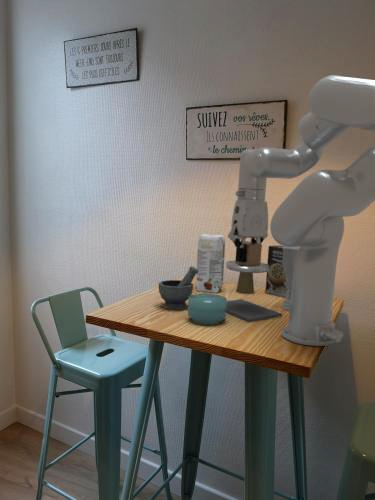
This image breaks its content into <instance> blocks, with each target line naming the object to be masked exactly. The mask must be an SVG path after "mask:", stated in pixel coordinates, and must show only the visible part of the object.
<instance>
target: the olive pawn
mask: <svg viewBox="0 0 375 500" xmlns="http://www.w3.org/2000/svg"><path fill="white" fill-rule="evenodd" d="M254 287H255V285H254V273H245V272H239V275H238V280H237V285H236V293H238V294H242V295H253V294H255V288H254ZM252 293H253V294H252Z"/></svg>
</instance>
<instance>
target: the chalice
mask: <svg viewBox="0 0 375 500" xmlns="http://www.w3.org/2000/svg"><path fill="white" fill-rule="evenodd" d="M299 248H300V247H287V246H284V247H282V249H283V263H282V264H283V268H284V271H285V274H286V276H287V278H289V279H290V283H289V285H288V286H289V291H288V293H289V296H288V298H285V299H284V300H283V302H282V304H281V306H280V308H281V309H283V310H284V309H285V310H288V311H290V304H291V291H292V278H293V266H294V260H295V257H296V254H297V252H298V250H299Z"/></svg>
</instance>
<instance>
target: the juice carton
mask: <svg viewBox="0 0 375 500" xmlns="http://www.w3.org/2000/svg"><path fill="white" fill-rule="evenodd" d="M225 253H226V240H225V235H224V234H209V233H202V234H199V237H198V242H197V253H196V255H197V256H196V269H197V270H198V273H197V274H196V275H195V278H196V279H195V280H196V281H195V284H196V288H197V289H196V290H197V292H204V293H211V294H213V293H214V294H217V293H218V292H220V291H221V290H222V287H223V284H224V274H225V257H226V256H225V255H226V254H225Z"/></svg>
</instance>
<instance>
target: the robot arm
mask: <svg viewBox="0 0 375 500" xmlns="http://www.w3.org/2000/svg"><path fill="white" fill-rule="evenodd" d="M307 106H308V110H309V112H308V113H307V114H305V115H304V116H302V117H301V119H300V120H299V122H298V127H297V128H298V133H299V137H300V139H301V140H302V143H300V144H299V145H297V146H296V147H295V148H292V149H287V148H286V149H285V148H279V147H278V148H277V147H275V148H274V147H260V148H257V149H244V150H243V151H241V152H240V157H239V169H238V170H239V173H238V186H237V188H238V189H237V191H235V196H236V197H237V199H235V203H234V207H233V212H232V218H231V229H230V232H229V233H228V235H227V238H228V239H229V240H230V241H232V243H233V244H234V247H235V259H236V261H238V262H242V263H244V262H245V251H246V248H244V246H245V241H246V240H247V239H249V238H250V242H253V243H257V244H262V243H263V241H264V240H265V239H267V238H268V237H269V234H268V230H269V209H268V208H269V207H268V202H267V201H266V192H267V191H266V189H267V178H268V179H287V180H290V179H296V178H297V177H300V176H301V175H303V174H305V173H306V172H308V171H310V170H311V169H312V168H315V166H316V165H317V164H318V163H319V162H320V160H321V158H322V156H323V154H324V152H325V149H326V147H327V146H329V145H330V144H331V143H333V142H334V141H336V140H337V139H339V138H340V137H342V136H343V135H345V134H346V133H347V132H349V131H350V130H352V129H354V128H355V129H358V130H359V129H360V130H363V131H368V132H375V79H368V78H358V77H350V76H343V75H339V74H338V75H337V74H330V75H327V76H324V77H323V78H320V80H318V81H317V82H316V83H315V84H314V85H313V87H312V88H311V89H310V91H309V95H308V98H307ZM373 202H375V143H374V144H372V145H371V146H369V148H367V149H366V150H364V151H363V152H362V153H361V154H360V155H359V156H358V157H357V159H356V160H354V161H353V163H351V164H350V165H349V166H347V167H346V168H344V169H339V170H337V169H320V170H316V171H314V172H312V173H310V174H308V175H307V176H305V178H303V179H302V180H301V181H300V183H299V184H297V186H296V187H295V188H294V189H293V190H292V191H291V192H290V194H288V196H286V198H285V199H284V200H283V201H282V202H281V204H280V205H279V206H278V207H277V208H276V209H275V211H274V213H273V215H272V217H271V220H270V234H271V237H272V239H273V240H274V241H275V242H276V243H277V244H279V245H280V246H287V247H300V248H299V250H298V252H297V254H296V257H295V260H294V266H293V278H292V291H291V304H290V310H289V320H288V325H286V326H284V327H283V328H281V335H282V337H283V338H284V339H285V340H288V341H290V342H293V343H295V344H299V345H303V346H309V347H310V346H312V347H325V346H331V345H333V344H336V343H338V344H339V343H340V342H341V341H342V338H343V337H344V333H343V332H342V331H340V330H336V328H335V327H336V322H334V321H332V316H333V314H332V313H333V305H334V304H333V303H334V292H335V283H336V273H337V272H336V271H337V262H338V256H339V250H340V246H341V243H342V240H343V236H344V231H345V220H344V218H345V217H347V218H349V217H355V216H358V215H360V214H361V213H362V212H363V211H365V210H366V209H367V208H368V207H369V206H371V204H372V203H373ZM236 247H237V249H236Z"/></svg>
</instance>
